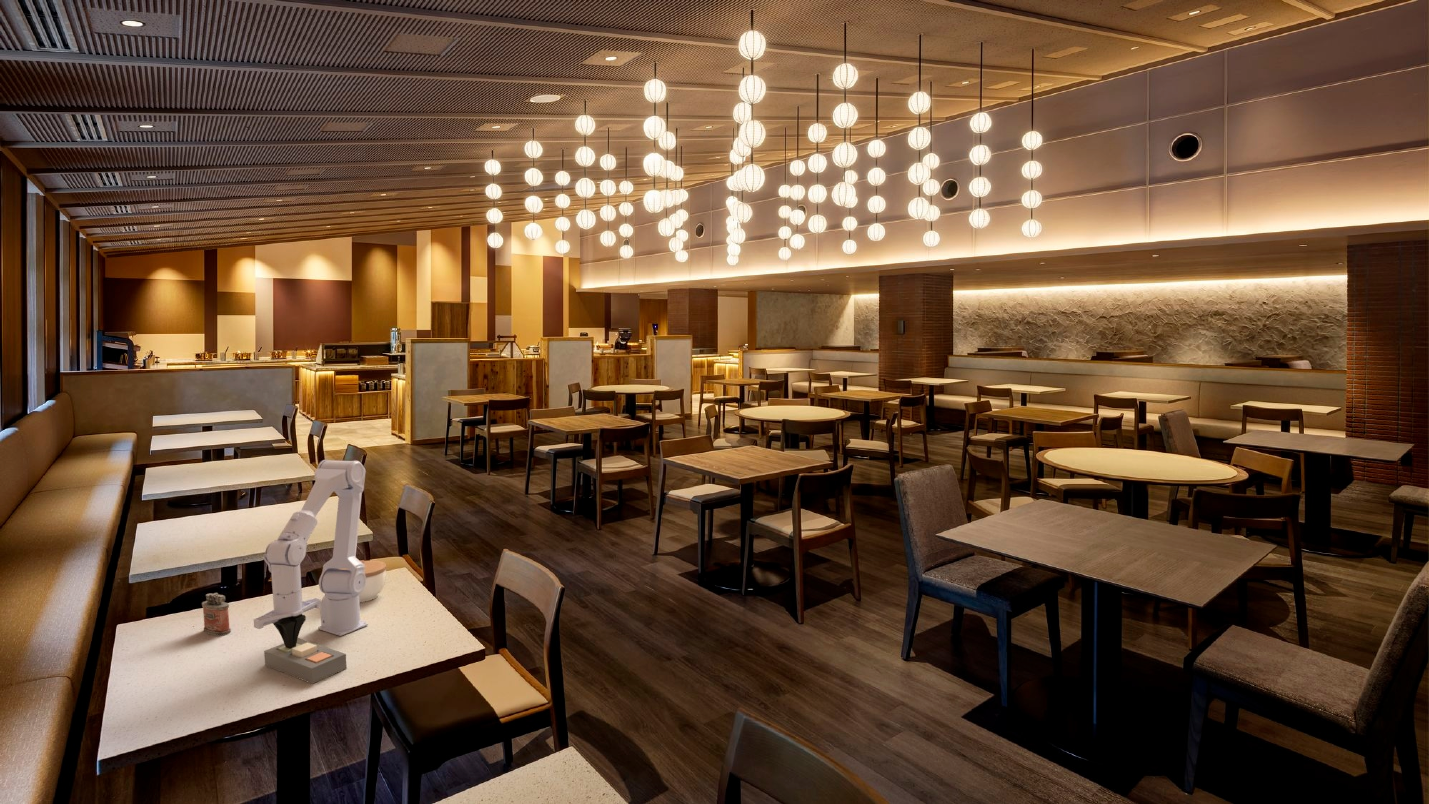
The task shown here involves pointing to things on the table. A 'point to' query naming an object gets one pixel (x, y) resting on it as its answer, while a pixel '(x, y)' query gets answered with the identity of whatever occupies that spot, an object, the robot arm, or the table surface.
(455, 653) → the table surface
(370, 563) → the lidded bowl
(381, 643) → the table surface
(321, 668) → the keypad
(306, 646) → the cream key
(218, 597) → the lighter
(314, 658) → the terracotta key
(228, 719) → the table surface
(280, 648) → the sage key
